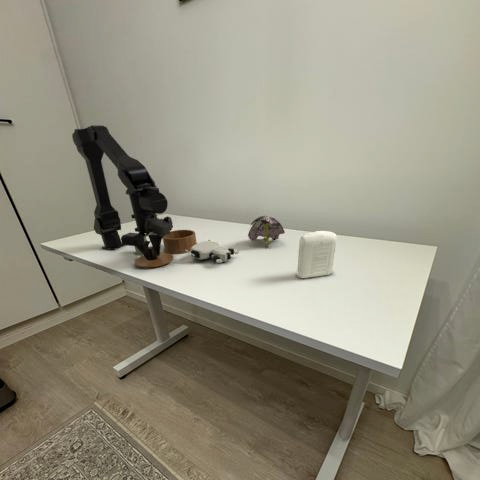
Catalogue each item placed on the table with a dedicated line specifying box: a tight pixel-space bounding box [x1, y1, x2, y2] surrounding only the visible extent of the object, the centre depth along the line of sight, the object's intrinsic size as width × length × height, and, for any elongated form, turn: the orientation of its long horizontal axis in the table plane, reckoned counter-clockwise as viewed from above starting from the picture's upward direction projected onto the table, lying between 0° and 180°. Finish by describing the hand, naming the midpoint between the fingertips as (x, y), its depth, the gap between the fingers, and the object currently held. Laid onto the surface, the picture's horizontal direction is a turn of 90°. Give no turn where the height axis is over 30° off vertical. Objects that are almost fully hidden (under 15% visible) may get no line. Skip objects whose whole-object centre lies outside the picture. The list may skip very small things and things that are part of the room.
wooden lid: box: [134, 245, 174, 269], centre depth 94 cm, size 13×13×5 cm
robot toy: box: [185, 239, 239, 264], centre depth 94 cm, size 12×4×15 cm
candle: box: [133, 245, 150, 256], centre depth 104 cm, size 5×5×4 cm
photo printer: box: [296, 230, 338, 279], centre depth 77 cm, size 10×4×12 cm, turn 103°
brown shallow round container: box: [162, 229, 198, 255], centre depth 105 cm, size 12×12×5 cm
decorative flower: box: [247, 215, 286, 248], centre depth 103 cm, size 15×12×15 cm
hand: (153, 257), depth 95 cm, fingers open, 4 cm apart
